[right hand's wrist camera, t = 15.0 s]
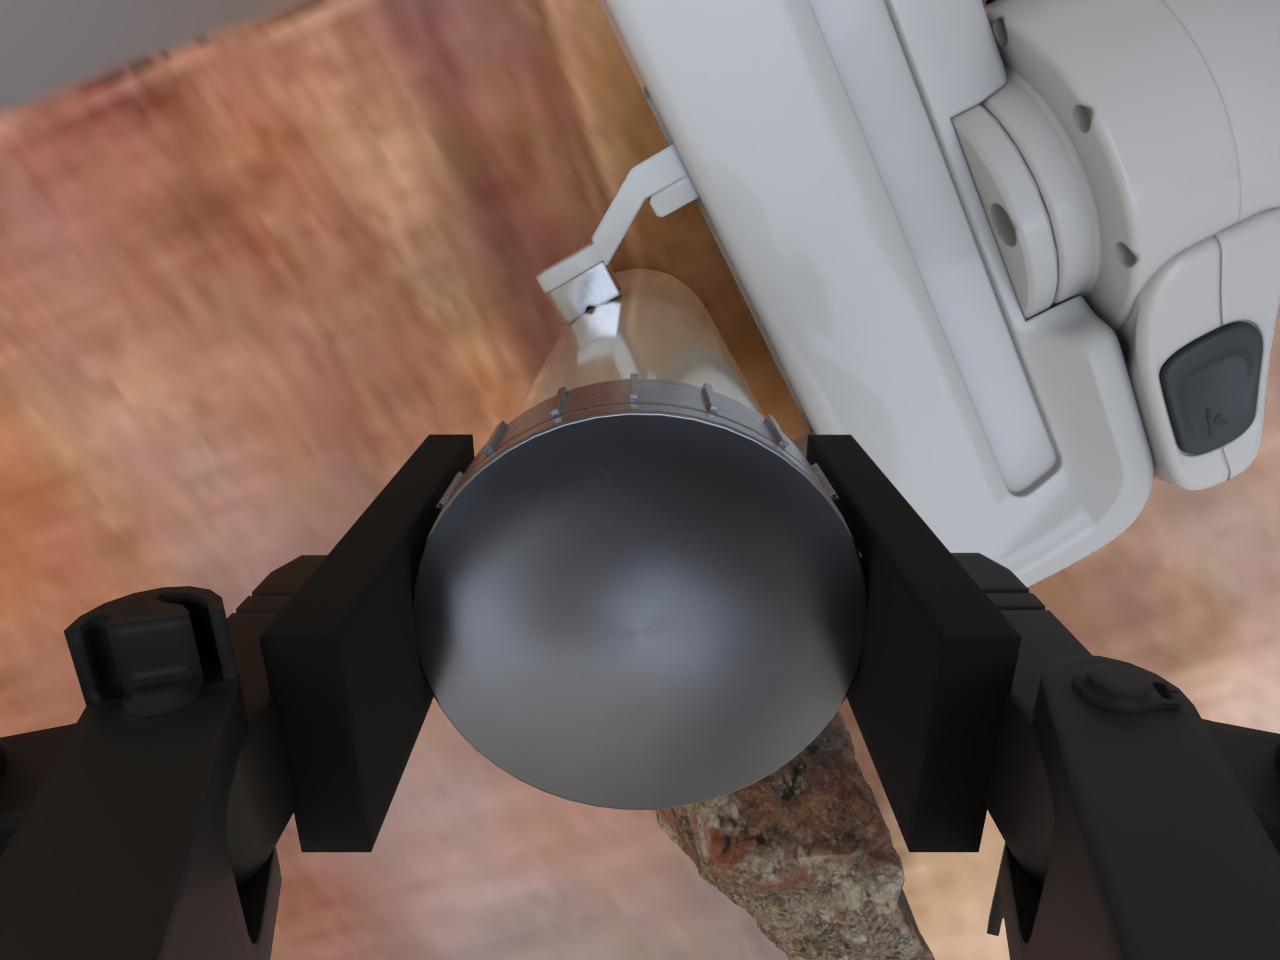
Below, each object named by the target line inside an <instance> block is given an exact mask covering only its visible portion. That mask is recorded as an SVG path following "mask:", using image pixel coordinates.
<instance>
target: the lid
mask: <svg viewBox="0 0 1280 960" xmlns="http://www.w3.org/2000/svg"><path fill="white" fill-rule="evenodd" d="M837 499H839V497H838V496H837V494H836V493H835V491H834V490H833V488H832V486H831V485H830V483H829V482H828V480H827V479H826V477H825V475H824V474H823V472H822V471H821V469H820V468H819V466H818V465H817V463H815V464H813V465H812V466H811V465H810V464H809V462H808V461H807V459H806V458H805V457H804V455H803V454H802V452H801V451H800V450H799V449H798V448H797V447H796V446H795V445H794V444H793V443H792V442H791V440H790V439H789V438H788V437H787V436H786V435H785V434H784V433H783V432H782V431H781V429H780V427H779V425H778V424H777V422H776V420H775V419H774V418H773V417H772V416H771V415H769V414H768V416H767V417H766V418H764V417H763V416H761V415H760V414H758V413H756V412H755V411H753V410H752V409H750V408H748V407H747V406H745V405H743V404H742V403H740V402H738V401H735V400H733V399H731V398H729V397H726V396H724V395H722V394H719V393H717V392H715V391H713V389H712V386H711V385H710V384H707V383H704V384H703V387H702V388H701V387H698V386H694V385H691V384H687V383H680V382H674V381H667V380H660V379H639V374H631V375H630V379H623V380H614V381H605V382H599V383H595V384H591V385H587V386H582V387H578V388H574V389H572V390H569V391H567V388H566V386H564V387H562V388H559V389H558V392H557V394H556V396H554V397H551V398H548V399H547V400H545V401H543V402H541V403H539V404H537V405H536V406H534V407H532V408H530V409H528V410H526V411H525V412H523V413H522V414H520V415H519V416H518V417H516V418H515V419H514V420H512V421H511V422H510V423H508V424H506V423H505V422H504V421H502V422H500V423H499V424H498V425H497V427H496V429H495V430H494V432H493V434H492V435H491V437H490V439H489V441H488V442H487V444H485V445H484V447H483V448H482V449H481V450H480V452H479V453H478V454H477V456H476V457H475V458H474V460H473V461H472V462H471V464H470V465H469V466H468V468H467V469H466V471H465V473H464V474H463V473H461V472H459V471H458V473H457V474H456V476H455V478H454V479H453V481H452V482H451V484H450V485H449V487H448V489H447V490H446V492H445V493H444V495H443V497H442V498H441V500H440V501H439V503H438V505H437V507H436V508H437V509H439V510H441V512H440V514H439V516H438V518H437V519H436V521H435V523H434V525H433V527H432V528H431V530H430V532H429V534H428V536H427V539H426V541H425V544H424V547H423V549H422V552H421V555H420V557H419V560H418V564H417V569H416V573H415V578H414V583H413V590H412V606H413V616H414V625H415V633H416V642H417V649H418V657H419V662H420V666H421V668H422V671H423V673H424V676H425V678H426V681H427V683H428V686H429V688H430V690H431V692H432V694H433V695H434V697H435V699H436V701H437V702H438V704H439V706H440V707H441V709H442V711H443V712H444V714H445V715H446V716H447V718H448V719H449V720H450V721H451V723H452V724H453V725H454V727H455V728H456V729H457V731H458V732H459V733H460V734H461V735H462V736H463V737H464V738H465V739H466V740H467V741H468V742H469V743H470V744H471V745H472V746H473V747H474V748H475V749H476V750H477V751H478V752H480V753H481V754H482V755H483V756H485V757H486V758H487V759H489V760H490V761H491V762H492V763H494V764H495V765H496V766H497V767H499V768H501V769H502V770H504V771H506V772H507V773H509V774H511V775H512V776H514V777H515V778H517V779H519V780H520V781H523V782H525V783H527V784H529V785H531V786H533V787H535V788H537V789H540V790H542V791H544V792H547V793H550V794H553V795H556V796H558V797H561V798H564V799H567V800H571V801H575V802H579V803H584V804H588V805H593V806H598V807H607V808H615V809H630V810H653V809H664V808H676V807H681V806H686V805H692V804H697V803H702V802H705V801H709V800H712V799H715V798H719V797H722V796H725V795H728V794H731V793H733V792H735V791H738V790H740V789H742V788H745V787H747V786H749V785H752V784H754V783H756V782H757V781H759V780H761V779H763V778H764V777H766V776H768V775H770V774H771V773H773V772H775V771H777V770H778V769H779V768H781V767H782V766H783V765H785V764H786V763H788V762H789V761H790V760H792V759H793V758H794V757H796V756H797V755H798V754H799V753H800V752H801V751H803V750H804V749H805V748H806V747H807V746H808V745H809V744H810V743H811V742H812V741H813V740H814V739H815V738H816V737H817V736H818V735H819V734H820V733H821V731H822V730H823V729H824V728H825V727H826V725H827V724H828V723H829V722H830V721H831V719H832V718H833V717H834V715H835V714H836V712H837V711H838V709H839V707H840V706H841V704H842V703H843V701H844V700H845V698H846V696H847V694H848V692H849V690H850V688H851V686H852V683H853V681H854V679H855V677H856V675H857V672H858V669H859V666H860V662H861V659H862V652H863V644H864V636H865V628H866V619H867V609H868V589H867V583H866V577H865V570H864V566H863V563H862V555H861V553H860V551H859V550H858V548H857V545H856V542H855V540H854V538H853V536H852V534H851V532H850V530H849V528H848V526H847V524H846V522H845V520H844V518H843V516H842V515H841V513H840V511H839V510H838V508H837V506H836V505H835V503H834V501H835V500H837Z"/></svg>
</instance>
